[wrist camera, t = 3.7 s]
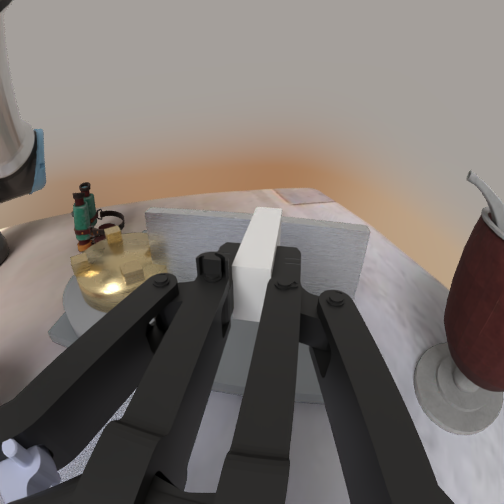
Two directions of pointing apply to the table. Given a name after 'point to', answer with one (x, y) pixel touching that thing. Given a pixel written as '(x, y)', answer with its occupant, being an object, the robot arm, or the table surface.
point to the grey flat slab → (232, 360)
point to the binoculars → (89, 218)
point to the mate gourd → (470, 333)
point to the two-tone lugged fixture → (210, 239)
